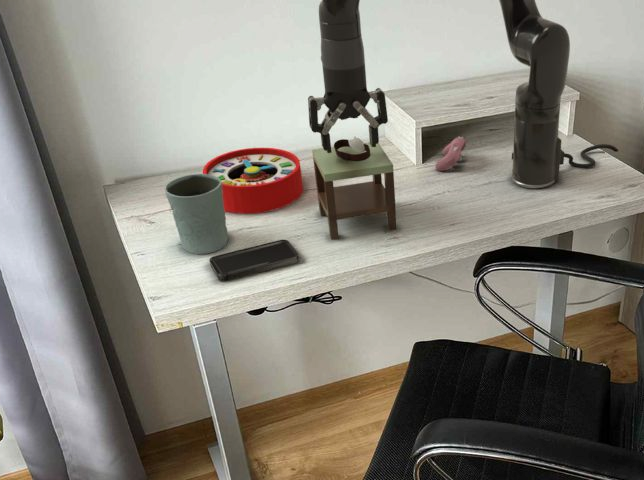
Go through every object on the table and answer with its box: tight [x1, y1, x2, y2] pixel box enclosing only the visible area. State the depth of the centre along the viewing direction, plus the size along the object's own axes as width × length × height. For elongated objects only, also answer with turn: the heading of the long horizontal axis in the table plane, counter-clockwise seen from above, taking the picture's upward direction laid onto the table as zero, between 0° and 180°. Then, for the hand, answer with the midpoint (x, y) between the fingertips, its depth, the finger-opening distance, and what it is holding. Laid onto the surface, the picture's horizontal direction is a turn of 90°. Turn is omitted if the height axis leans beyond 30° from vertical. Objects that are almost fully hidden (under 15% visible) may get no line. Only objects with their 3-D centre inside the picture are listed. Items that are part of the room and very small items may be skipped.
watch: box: [333, 136, 371, 161], centre depth 153 cm, size 8×5×4 cm, turn 59°
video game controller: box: [435, 135, 468, 172], centre depth 182 cm, size 10×5×7 cm, turn 168°
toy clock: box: [202, 147, 304, 215], centre depth 171 cm, size 20×6×20 cm
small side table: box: [311, 141, 398, 241], centre depth 158 cm, size 13×12×14 cm
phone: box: [208, 239, 300, 282], centre depth 149 cm, size 8×1×15 cm
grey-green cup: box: [164, 173, 229, 255], centre depth 152 cm, size 10×10×12 cm
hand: (351, 148), depth 153 cm, fingers open, 8 cm apart
